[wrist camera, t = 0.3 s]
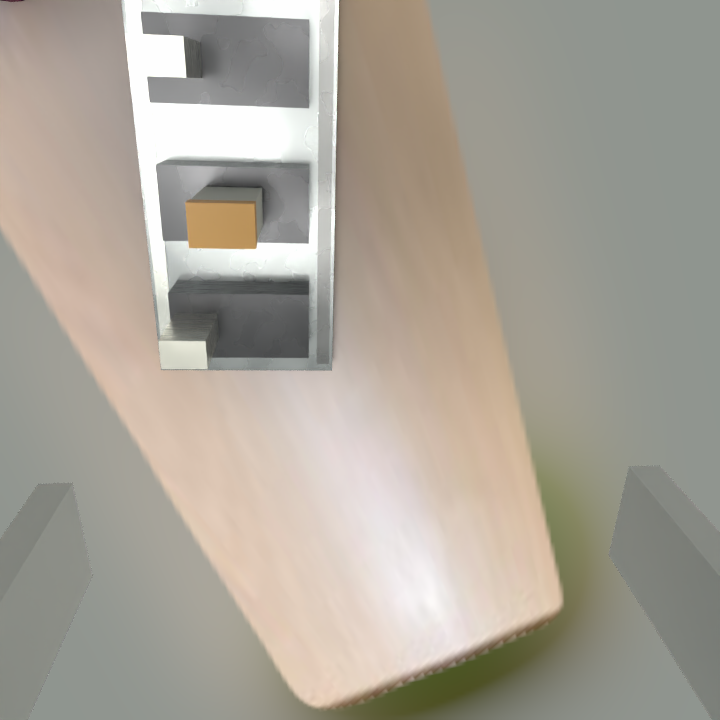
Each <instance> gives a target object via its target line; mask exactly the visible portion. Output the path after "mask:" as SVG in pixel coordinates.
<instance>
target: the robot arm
mask: <svg viewBox="0 0 720 720" xmlns="http://www.w3.org/2000/svg"><path fill="white" fill-rule="evenodd" d="M609 557H610V558H611V559H612V561H613V563H614V565H615V566H616V568H617V569H618V571H619V573H620V574H621V576H622V577H623V579H624V580H625V582H626V584H627V585H628V587H629V588H630V590H631V592H632V593H633V595H634V596H635V598H636V599H637V601H638V603H639V604H640V606H641V608H642V609H643V610H644V612H645V614H646V616H647V617H648V619H649V620H650V622H651V624H652V625H653V627H654V628H655V630H656V631H657V633H658V635H659V636H660V638H661V639H662V641H663V643H664V644H665V646H666V647H667V649H668V651H669V652H670V654H671V655H672V657H673V658H674V660H675V662H676V663H677V665H678V666H679V668H680V670H681V671H682V673H683V675H684V676H685V678H686V679H687V681H688V683H689V684H690V686H691V687H692V689H693V691H694V692H695V694H696V695H697V697H698V698H699V700H700V701H701V703H702V705H703V706H704V708H705V710H706V711H707V713H708V714H709V716H710V718H711V719H712V720H720V532H719V531H718V530H717V529H716V527H715V526H714V525H713V524H712V523H711V522H710V521H709V520H708V519H707V517H706V516H705V515H704V514H703V513H702V512H701V511H700V510H699V509H698V508H697V507H696V505H695V504H694V503H693V502H692V501H691V500H690V499H689V498H688V497H687V495H685V493H684V492H683V491H682V490H681V489H680V488H679V487H678V486H677V484H676V483H675V482H674V481H673V480H672V479H671V478H670V477H669V476H668V475H667V474H666V472H665V471H664V470H663V469H662V468H661V467H660V466H630V467H629V468H628V473H627V477H626V482H625V486H624V490H623V494H622V499H621V503H620V508H619V512H618V516H617V521H616V525H615V530H614V533H613V538H612V543H611V547H610V551H609ZM92 576H93V574H92V569H91V565H90V560H89V555H88V551H87V546H86V542H85V538H84V533H83V529H82V524H81V519H80V514H79V510H78V505H77V500H76V496H75V492H74V487H73V483H53V484H38V485H37V486H36V488H35V489H34V491H33V492H32V494H31V495H30V496H29V498H28V499H27V501H26V502H25V504H24V505H23V506H22V508H21V509H20V511H19V512H18V514H17V515H16V517H15V518H14V519H13V521H12V522H11V524H10V525H9V527H8V528H7V530H6V531H5V532H4V534H3V535H2V537H1V539H0V720H28V718H29V716H30V714H31V712H32V709H33V707H34V705H35V703H36V701H37V699H38V696H39V694H40V692H41V689H42V687H43V685H44V683H45V681H46V679H47V676H48V674H49V672H50V670H51V667H52V665H53V663H54V661H55V659H56V656H57V654H58V652H59V649H60V647H61V645H62V643H63V641H64V639H65V636H66V634H67V632H68V630H69V627H70V625H71V623H72V621H73V619H74V616H75V614H76V612H77V610H78V607H79V605H80V603H81V601H82V599H83V596H84V594H85V592H86V590H87V587H88V585H89V583H90V581H91V578H92Z"/></svg>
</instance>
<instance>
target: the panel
mask: <svg viewBox="0 0 720 720" xmlns="http://www.w3.org/2000/svg"><path fill="white" fill-rule="evenodd" d="M121 2H122V11H123V21H124V30H125V39H126V48H127V58H128V67H129V76H130V86H131V95H132V104H133V113H134V123H135V132H136V141H137V151H138V160H139V169H140V178H141V188H142V197H143V206H144V216H145V225H146V234H147V243H148V253H149V262H150V271H151V281H152V290H153V299H154V308H155V318H156V327H157V336H158V346H159V355H160V364H161V370H332V336H333V283H334V229H335V176H336V122H337V69H338V15H339V0H121ZM205 186H206V187H244V188H262V207H263V227H262V230H261V233H260V235H259V238H258V241H257V248H256V249H208V248H189V244H188V231H187V219H186V206H185V202H186V201H187V200H188V199H192V198H193V197H194V196H195V195H196V194H197V193H198V192H199V191H200V190H201V189H203V188H204V187H205Z"/></svg>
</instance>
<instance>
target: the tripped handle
mask: <svg viewBox="0 0 720 720" xmlns="http://www.w3.org/2000/svg"><path fill="white" fill-rule="evenodd" d="M185 206H186V219H187V231H188V244H189V248H208V249H256V248H257V241H258V238H259V235H260V233H261V230H262V227H263V207H262V188H244V187H206V186H205V187H204V188H203V189H201V190H200V191H199V192H198V193H197V194H196V195H195V196H194V197H193V198H192V199H188V200H187V201H186V202H185Z"/></svg>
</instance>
